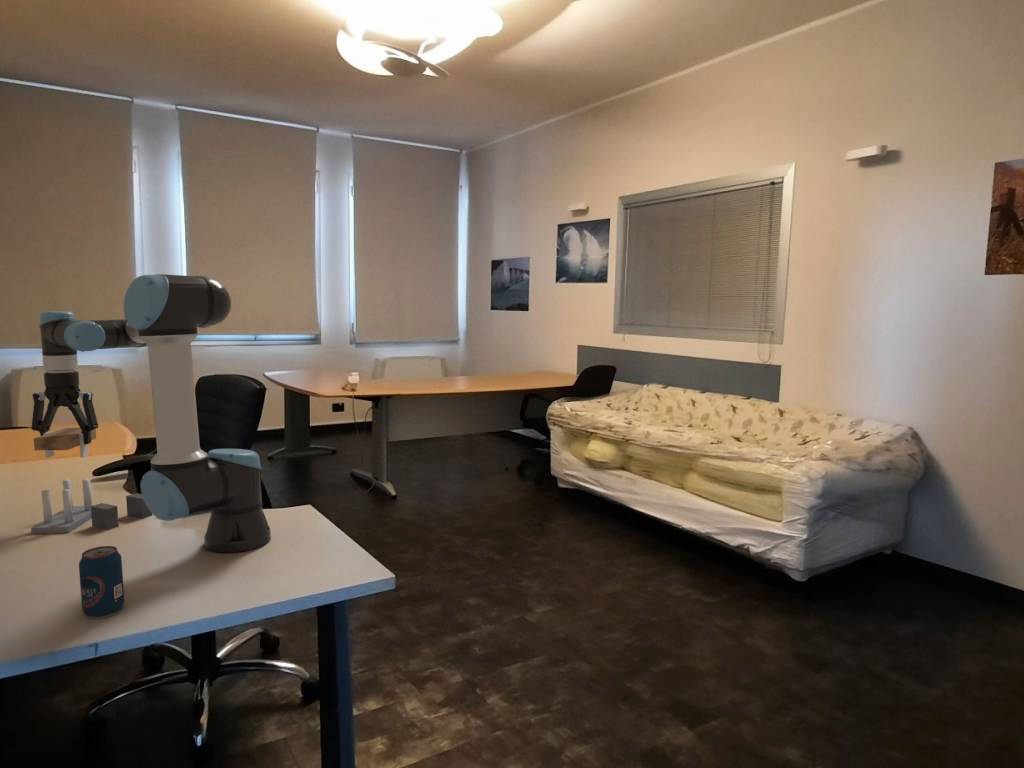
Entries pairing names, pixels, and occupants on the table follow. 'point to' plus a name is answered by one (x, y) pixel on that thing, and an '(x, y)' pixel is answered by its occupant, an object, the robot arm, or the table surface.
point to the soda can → (101, 582)
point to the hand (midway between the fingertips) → (67, 456)
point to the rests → (108, 514)
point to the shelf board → (60, 439)
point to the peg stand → (65, 511)
